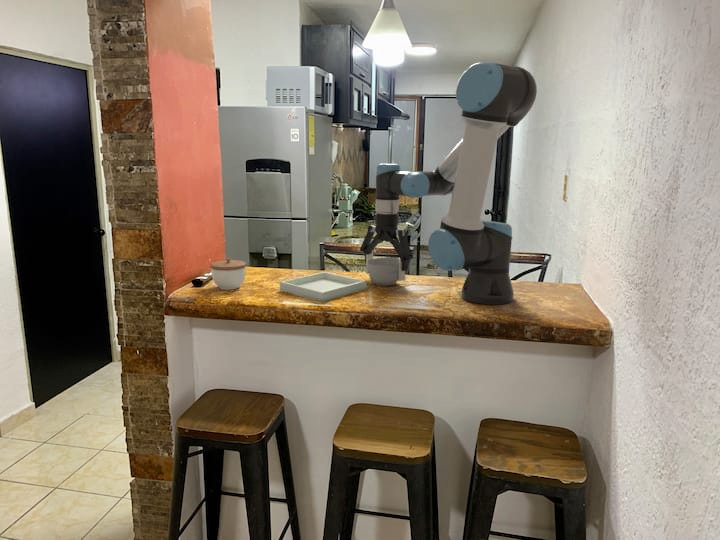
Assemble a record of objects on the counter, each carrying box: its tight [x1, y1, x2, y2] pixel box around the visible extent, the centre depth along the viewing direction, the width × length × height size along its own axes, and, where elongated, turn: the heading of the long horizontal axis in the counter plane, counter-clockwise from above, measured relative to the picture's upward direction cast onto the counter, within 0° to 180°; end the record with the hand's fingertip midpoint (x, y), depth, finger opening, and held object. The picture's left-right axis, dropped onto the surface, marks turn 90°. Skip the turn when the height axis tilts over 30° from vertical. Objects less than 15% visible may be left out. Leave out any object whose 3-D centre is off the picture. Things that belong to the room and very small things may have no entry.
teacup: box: [368, 256, 401, 287], centre depth 177 cm, size 14×11×8 cm
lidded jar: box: [210, 257, 247, 291], centre depth 168 cm, size 11×11×9 cm
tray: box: [279, 271, 368, 303], centre depth 167 cm, size 19×20×3 cm
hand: (385, 276), depth 177 cm, fingers open, 13 cm apart
